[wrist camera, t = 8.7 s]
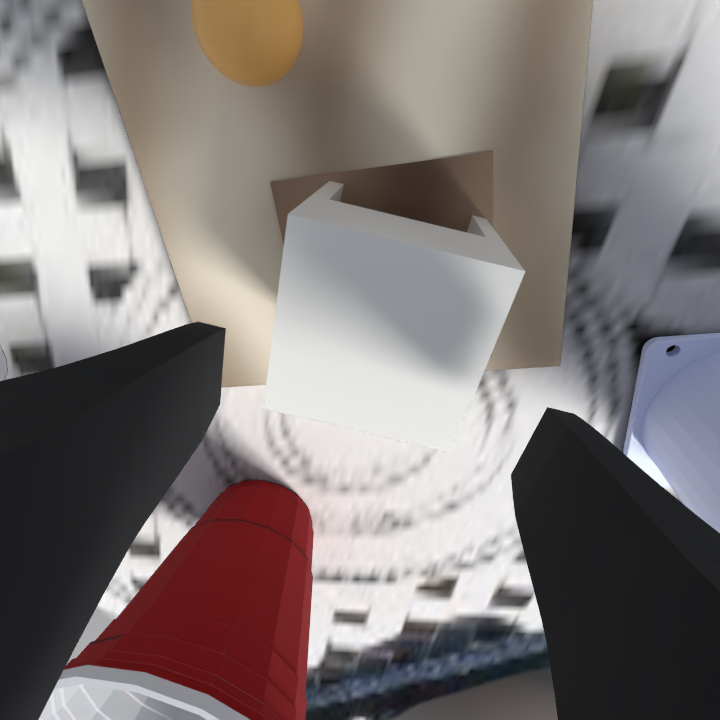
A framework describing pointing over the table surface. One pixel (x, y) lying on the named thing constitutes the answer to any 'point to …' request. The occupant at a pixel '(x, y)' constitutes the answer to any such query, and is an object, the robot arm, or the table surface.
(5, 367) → the chalice
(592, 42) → the table surface
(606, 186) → the table surface
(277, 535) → the plastic cup
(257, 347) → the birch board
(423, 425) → the white tabletop archway
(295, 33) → the orange marble
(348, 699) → the table surface
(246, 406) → the table surface
